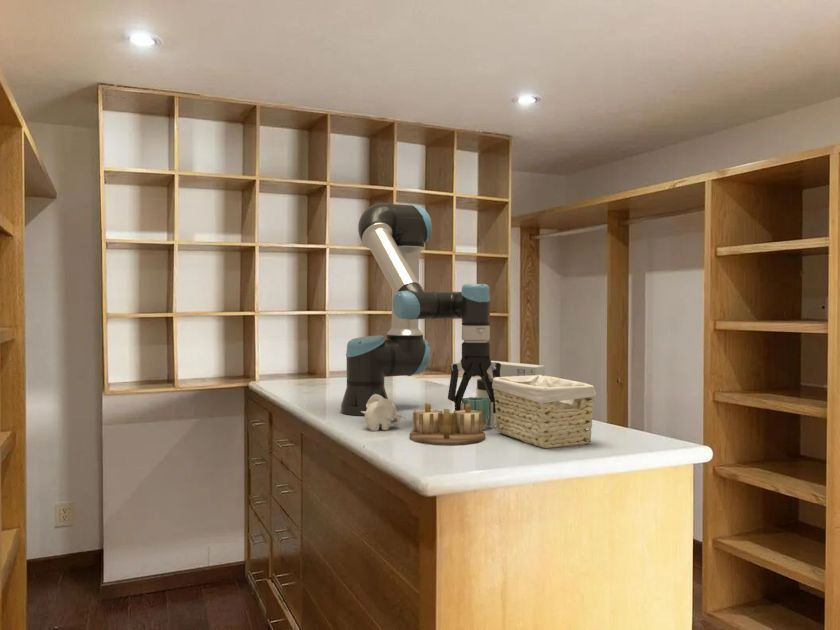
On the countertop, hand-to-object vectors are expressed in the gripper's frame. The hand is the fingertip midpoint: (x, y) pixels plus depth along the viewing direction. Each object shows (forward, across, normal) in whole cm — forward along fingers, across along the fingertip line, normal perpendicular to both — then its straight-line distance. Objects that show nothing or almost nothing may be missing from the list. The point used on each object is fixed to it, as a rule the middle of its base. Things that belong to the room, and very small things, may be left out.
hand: (475, 426), depth 186 cm
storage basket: (+1, +11, -17) cm, 20 cm away
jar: (+1, +8, +9) cm, 12 cm away
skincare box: (+1, +18, +17) cm, 25 cm away
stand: (+1, 0, 0) cm, 1 cm away
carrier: (+1, -11, -10) cm, 15 cm away
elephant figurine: (+1, -24, +7) cm, 25 cm away
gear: (-2, 0, 0) cm, 2 cm away
